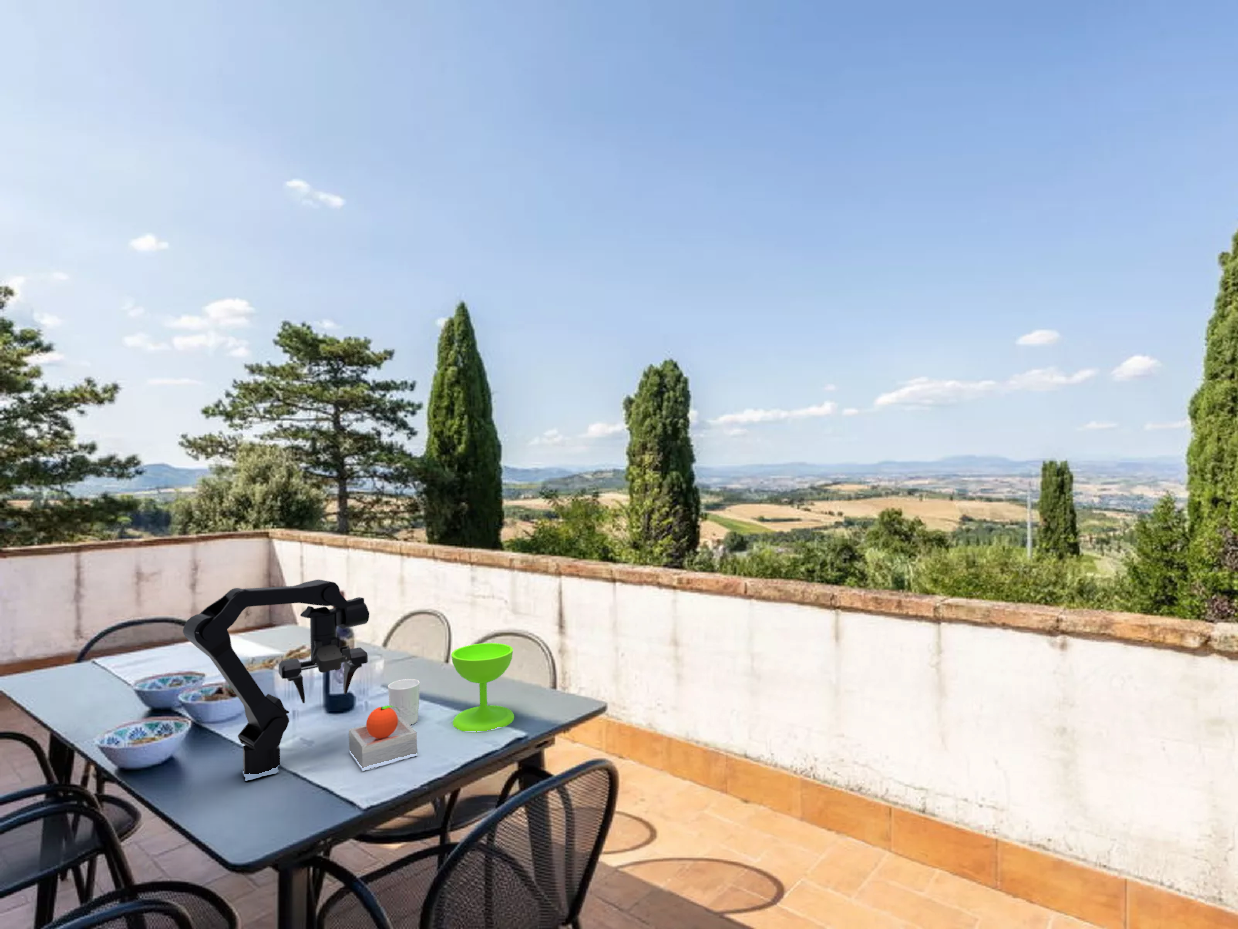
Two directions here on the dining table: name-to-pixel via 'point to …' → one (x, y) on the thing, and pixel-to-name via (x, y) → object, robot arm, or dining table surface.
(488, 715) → the wineglass
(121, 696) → the dining table surface
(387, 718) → the clementine
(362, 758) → the tray
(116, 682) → the dining table surface
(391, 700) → the white cup
